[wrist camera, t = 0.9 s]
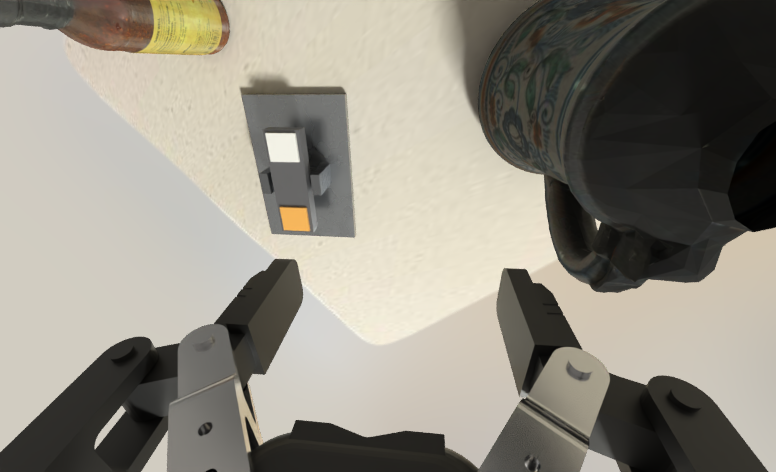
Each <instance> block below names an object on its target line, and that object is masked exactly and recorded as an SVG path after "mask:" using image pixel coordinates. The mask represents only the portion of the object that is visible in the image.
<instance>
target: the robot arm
mask: <svg viewBox="0 0 776 472" xmlns="http://www.w3.org/2000/svg"><path fill="white" fill-rule="evenodd" d="M302 299H303V289H302V284H301V279H300V274H299V269H298V265H297V262H296V260H293V259H275V260H274V261H273V262H272V263H271V265H270V266H269V267H268V269H267V270H266V271H261V272H259V273H258V274H256V275H255V276H253V277H252V278H251V279H250V280H249V281H248V282H247V283H246V285H245V286H244V287H243V289H242V290H241V291H240V292H239V293H238V295H237V297H235V298H234V299H233V301H232V302H231V303H230V304H229V306H228V307H227V308H226V310H225V311H224V312H223V313H222V314H221V316H220V317H219V318H218V319H217V320H216V322H215V323H214V324H210V325H206V326H202V327H200V328H198V329H196V330H194V331H192V332H191V333H189V334H188V335H187V336H186V337H185V338H184V339H183V340H182V341H181V343H178V344H173V345H168V346H162V347H157V348H155V347H154V346H153V344H152V342H151V340H150V339H148V338H146V337H134V338H130V339H127V340H124V341H122V342H119V343H117V344H115V345H114V346H112V347H110V348H109V349H108V350H106V351H105V352H104V353H103V354H102V355H101V356H100V357H99V358H97V360H95V361H94V362H93V363H92V364H91V365H90V366H89V367H88V368H87V369H86V370H85V371H84V372H83V373H82V374H81V375H80V376H79V377H78V378H77V379H76V380H75V381H74V382H73V383H72V384H71V385H70V386H69V387H67V388H66V389H65V390H64V391H63V392H62V393H61V394H60V395H59V396H58V397H57V398H56V399H55V400H54V401H53V402H52V403H51V404H50V405H49V406H48V407H47V408H46V409H45V410H44V411H43V412H42V413H41V414H40V415H39V416H37V417H36V419H34V420H33V421H32V422H31V423H30V424H29V425H28V426H27V427H26V428H25V429H24V430H23V431H22V432H21V433H20V434H19V435H18V436H17V437H16V438H15V439H14V440H13V441H12V442H11V443H10V444H9V445H8V446H7V447H5V448H4V449H3V450H2V451H1V452H0V472H141V471H142V469H143V468H144V466H145V464H146V463H147V461H148V460H149V458H150V457H151V455H152V454H153V452H154V451H155V449H156V447H157V446H158V444H159V443H160V441H161V440H162V438H163V437H164V435H165V433H166V432H167V430H168V452H167V472H580V469H581V467H582V464H583V461H584V458H585V456H586V453H587V450H588V449H590V450H593V451H595V452H598V453H600V454H602V455H605V456H607V457H610V458H612V459H615V460H616V462H617V464H618V467H619V469H620V471H621V472H768V471H767V470H766V468H765V467H764V466H763V464H762V463H761V462H760V460H759V459H758V458H757V457H756V455H755V454H754V453H753V451H752V450H751V449H750V447H749V446H748V445H747V444H746V442H745V441H744V440H743V438H742V437H741V436H740V434H739V433H738V432H737V431H736V429H735V428H734V427H733V425H732V424H731V423H730V422H729V420H728V419H727V418H726V416H725V415H724V414H723V413H722V411H721V410H720V409H719V407H718V406H717V405H716V404H715V402H714V401H713V400H712V399H711V398H710V397H708V395H706V394H705V393H704V392H703V391H701V390H700V389H698V388H697V387H695V386H693V385H692V384H690V383H688V382H686V381H683V380H680V379H678V378H675V377H670V376H656V377H653V378H652V379H650V381H649V382H648V384H647V385H644V384H641V383H637V382H634V381H631V380H628V379H625V378H621V377H619V376H616V375H613V374H611V373H609V372H608V371H607V369H606V367H605V366H604V365H603V364H602V363H601V361H599V360H598V359H597V358H596V357H594V356H593V355H591V354H590V353H588V352H586V351H583V350H582V348H581V346H580V344H579V342H578V340H577V339H576V337H575V335H574V333H573V331H572V329H571V328H570V325H569V324H568V322H567V320H566V318H565V316H563V312H562V311H561V309H560V307H559V306H558V303H557V301H556V299H555V297H554V295H553V294H552V293H551V292H550V291H549V290H548V289H547V288H546V287H545V286H543V285H542V284H540V283H533V282H532V280H531V278H530V276H529V274H528V272H527V270H526V269H508V268H504V269H503V272H502V276H501V282H500V287H499V292H498V298H497V316H498V320H499V324H500V328H501V331H502V335H503V338H504V342H505V345H506V349H507V353H508V357H509V361H510V364H511V368H512V372H513V375H514V379H515V383H516V387H517V390H518V394H519V397H526V399H522V400H521V401H520V402H519V404H518V405H517V407H516V409H515V411H514V412H513V414H512V415H511V417H510V419H509V420H508V422H507V424H506V425H505V427H504V429H503V430H502V432H501V434H500V435H499V437H498V439H497V440H496V442H495V444H494V445H493V447H492V449H491V451H490V452H489V454H488V455H487V457H486V459H485V460H484V462H483V464H482V465H481V467H480V469H478V468H477V467H476V466H474V465H473V464H472V463H471V462H470V461H469V460H467V459H466V458H464V457H463V456H462V455H460V454H458V453H456V452H454V451H453V450H450V449H448V448H445V440H444V435H443V434H433V433H423V432H413V431H403V432H397V433H391V434H386V435H380V436H375V437H363V436H361V435H358V434H356V433H353V432H351V431H348V430H345V429H343V428H341V427H338V426H336V425H334V424H331V423H322V422H312V421H302V420H296V421H295V424H294V427H293V429H292V432H291V433H287V434H283V435H280V436H277V437H275V438H273V439H270V440H268V441H267V442H265V443H263V440H262V437H261V433H260V429H259V425H258V421H257V416H256V412H255V407H254V404H253V399H252V394H251V390H250V386H249V383H248V381H249V379H250V377H251V375H252V374H263V375H264V374H266V371H267V370H268V368H269V366H270V364H271V362H272V360H273V358H274V356H275V354H276V352H277V350H278V348H279V346H280V345H281V343H282V341H283V338H284V337H285V335H286V333H287V331H288V329H289V327H290V325H291V323H292V321H293V319H294V317H295V316H296V313H297V312H298V310H299V308H300V306H301V303H302ZM120 406H123V407H124V409H125V410H126V412H125V413H124V414H123V415H122V417H121V418H120V419H119V421H118V422H117V423H116V424H115V426H114V427H113V428H112V429H111V430H110V432H109V433H108V434H107V436H106V437H105V438H104V439H103V441H102V442H101V443H100V444H99V446H98V447H97V448H96V449H94V445H95V441H96V438H97V436H98V434H99V433H100V431H101V430H102V429H103V427H104V426H105V425H106V424H107V423H108V421H109V420H110V419H111V418H112V416H113V415H114V414H115V413H116V412H117V410H118V409H119V408H120Z"/></svg>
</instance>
